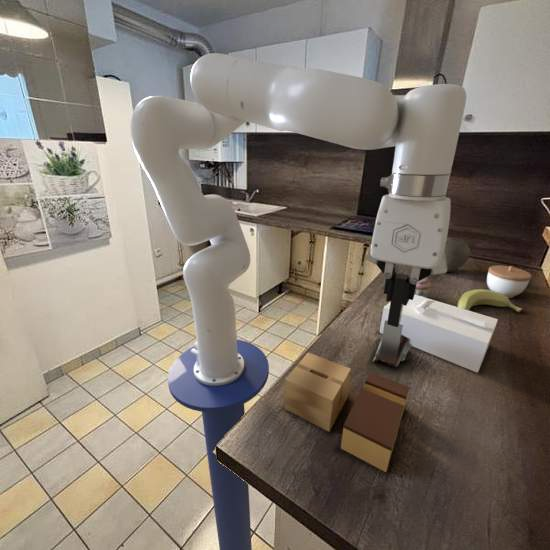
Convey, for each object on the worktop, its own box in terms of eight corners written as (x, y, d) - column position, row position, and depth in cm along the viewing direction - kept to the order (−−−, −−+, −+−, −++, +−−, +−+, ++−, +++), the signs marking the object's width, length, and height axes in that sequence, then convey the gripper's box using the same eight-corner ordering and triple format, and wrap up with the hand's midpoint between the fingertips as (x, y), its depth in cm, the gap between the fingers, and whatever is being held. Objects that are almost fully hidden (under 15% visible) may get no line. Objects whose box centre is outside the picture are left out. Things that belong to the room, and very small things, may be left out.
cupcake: (397, 297, 107) (402, 272, 103) (410, 290, 113) (415, 266, 109) (422, 307, 101) (428, 280, 97) (434, 299, 106) (441, 273, 102)
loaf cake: (340, 448, 52) (343, 424, 50) (358, 410, 60) (361, 388, 58) (386, 472, 49) (391, 448, 46) (398, 428, 56) (404, 405, 54)
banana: (457, 280, 104) (521, 293, 99) (451, 291, 107) (512, 305, 103) (464, 305, 93) (535, 322, 89) (456, 317, 97) (524, 334, 93)
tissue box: (398, 314, 96) (404, 284, 92) (488, 346, 80) (500, 311, 76) (379, 332, 86) (384, 300, 82) (477, 372, 71) (491, 335, 66)
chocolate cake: (400, 377, 70) (422, 333, 72) (373, 361, 72) (394, 319, 74) (393, 377, 78) (412, 338, 81) (368, 362, 81) (388, 325, 83)
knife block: (284, 409, 60) (285, 379, 57) (306, 379, 68) (307, 352, 65) (329, 432, 56) (332, 400, 52) (347, 397, 63) (351, 368, 60)
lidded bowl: (474, 288, 114) (482, 262, 110) (498, 284, 117) (507, 259, 113) (505, 303, 103) (516, 274, 99) (531, 298, 106) (542, 271, 102)
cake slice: (361, 402, 62) (365, 380, 60) (365, 393, 65) (369, 371, 62) (401, 419, 58) (406, 396, 56) (404, 409, 61) (409, 387, 58)
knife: (377, 362, 54) (390, 276, 47) (380, 355, 56) (393, 272, 49) (394, 368, 53) (410, 280, 46) (396, 361, 54) (413, 275, 47)
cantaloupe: (449, 278, 122) (458, 244, 117) (421, 267, 134) (428, 236, 128) (471, 273, 128) (480, 240, 122) (442, 263, 140) (449, 232, 134)
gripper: (355, 186, 43) (344, 297, 50) (483, 193, 35) (449, 324, 42) (370, 182, 49) (358, 282, 56) (483, 187, 41) (452, 303, 48)
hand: (397, 299), depth 49 cm, fingers closed on knife, 1 cm apart
